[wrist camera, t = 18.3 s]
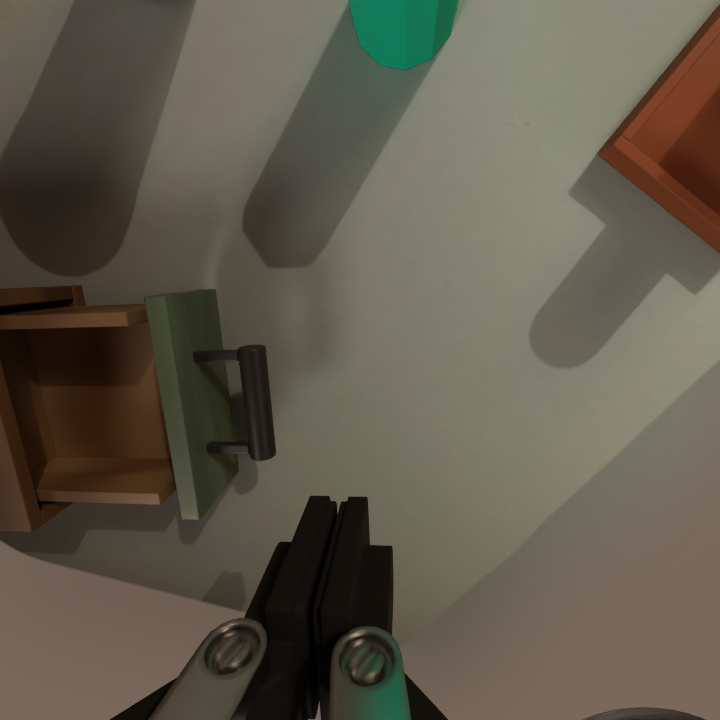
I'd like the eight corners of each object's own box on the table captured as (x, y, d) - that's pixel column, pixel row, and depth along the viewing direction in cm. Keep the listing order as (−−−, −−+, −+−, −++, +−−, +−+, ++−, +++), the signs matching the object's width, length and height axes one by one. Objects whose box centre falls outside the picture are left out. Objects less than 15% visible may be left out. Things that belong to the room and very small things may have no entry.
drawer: (279, 286, 26) (243, 292, 20) (295, 472, 29) (269, 522, 24) (23, 296, 28) (-72, 304, 23) (64, 468, 32) (-11, 513, 26)
